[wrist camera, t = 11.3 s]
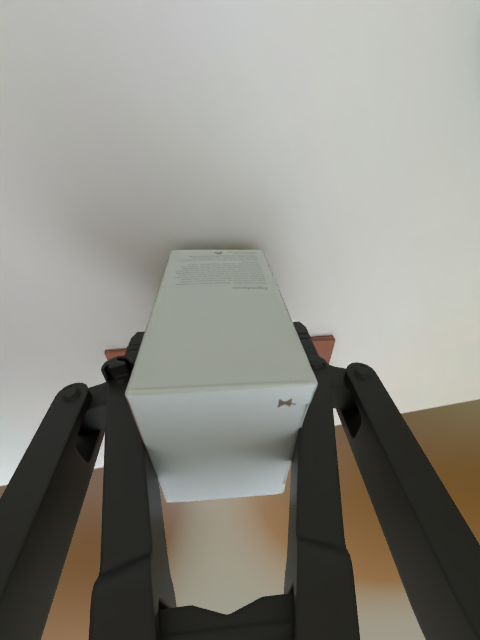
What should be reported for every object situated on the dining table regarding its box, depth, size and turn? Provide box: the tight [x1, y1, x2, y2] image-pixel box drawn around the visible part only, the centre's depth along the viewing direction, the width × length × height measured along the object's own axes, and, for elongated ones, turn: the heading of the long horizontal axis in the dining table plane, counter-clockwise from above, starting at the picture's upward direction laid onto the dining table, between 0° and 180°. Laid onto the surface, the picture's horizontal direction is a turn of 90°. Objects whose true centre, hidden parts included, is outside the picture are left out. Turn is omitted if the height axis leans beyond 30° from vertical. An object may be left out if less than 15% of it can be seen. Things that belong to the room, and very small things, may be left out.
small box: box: [125, 250, 318, 502], centre depth 14 cm, size 8×6×10 cm
